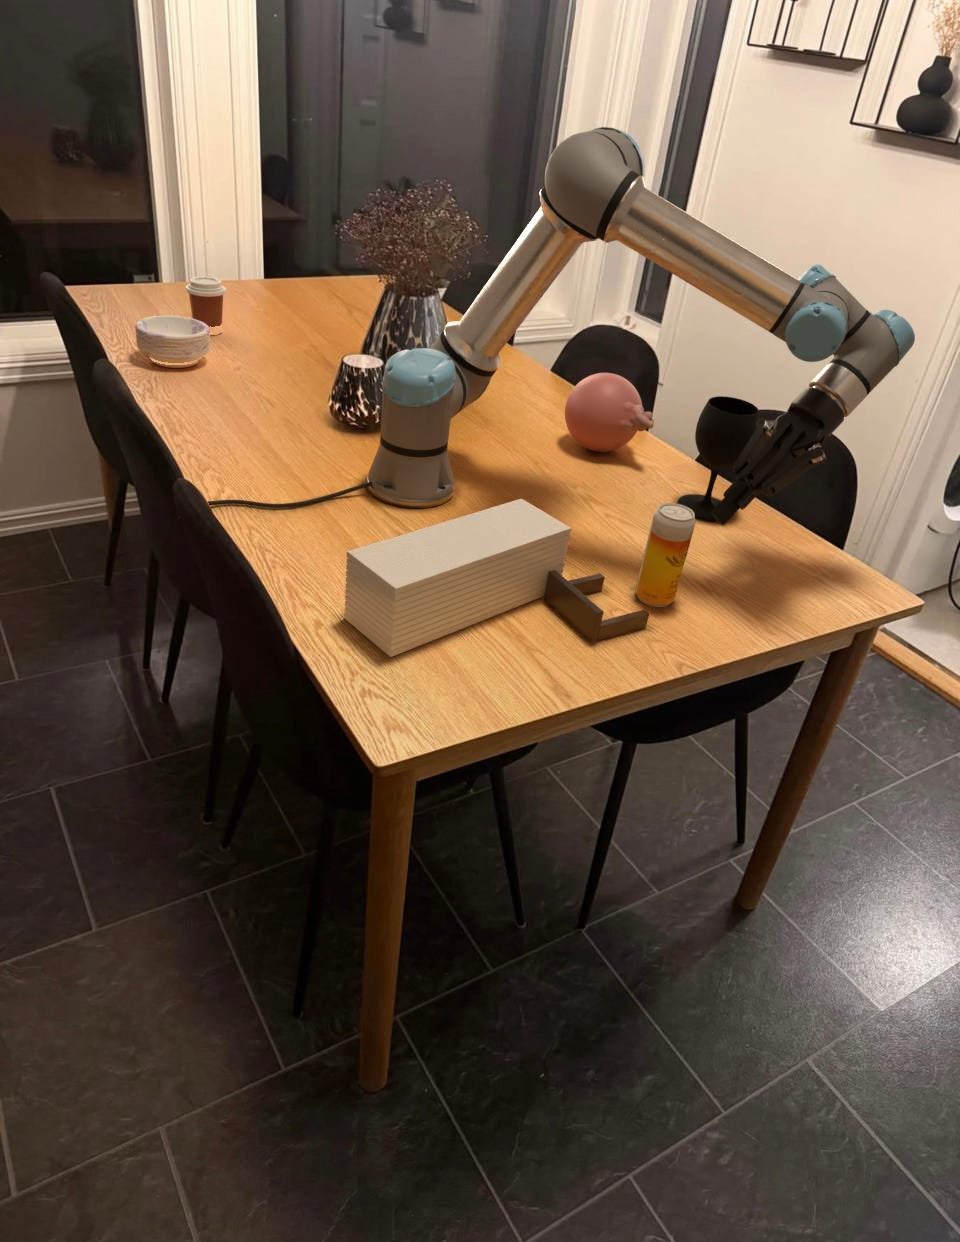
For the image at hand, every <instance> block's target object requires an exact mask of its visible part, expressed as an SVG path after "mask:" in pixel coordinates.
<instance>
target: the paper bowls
mask: <svg viewBox="0 0 960 1242" xmlns="http://www.w3.org/2000/svg"><path fill="white" fill-rule="evenodd" d="M135 338H136V346H137V348H138V350H139V351H140V352H142V353H144V354H146V355H147V357H148V356H149V357H151V358H153V359H155V360H158V361H161V362H168V363H184V362H190V361H194V360H197V359H199V358H200V357H201V358H202V357H203V356H205V355H207V354H208V353H209V352H210V350H211V336H210V329H209V327H208V326H207V325H206V324H205V323H203V322H201V321H199V320H196V319H192V317H187V316H180V315H153V316H152V315H151V316H147V317H144V318H140V319H139V320H138V321H136V323H135ZM149 357H148V359H149V360H150V361H151V362H152V363H153V364H155V365H157V366H160V367H164V368H170V369H183V368H189V367H192V366H193V367H194V366H195V365H197V364H198V363H199V362H200V360H199V361H197V362H195V363H192V364H187V365H165V364H160V363H157V362H154V361H152V360H151V359H150V358H149ZM201 358H200V359H201Z"/></svg>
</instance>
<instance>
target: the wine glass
mask: <svg viewBox="0 0 960 1242" xmlns="http://www.w3.org/2000/svg"><path fill="white" fill-rule="evenodd" d="M759 412H760V411H759V408H758V407H757V406H756V405H755V404H754V403H751V402H750V401H747V400H744V399H742V398H737V397H732V396H722V395H721V396H712V397H710V398H709V399H708V400H707V402H706V404H705V405H704V407H703V409H702V410H701V412H700V414H699V417H698V421H697V422H696V427H695V431H694V432H695V434H694V435H695V436H694V440H695V446H696V449H697V451H698V453H699V455H700V457H701V458H702V460H703V462H705V464H707V466H709V468H710V477H709V481H708V484H707V488H706V491H705V493H704V494H698V493H697V494H696V493H692V494H691V493H690V494H689V493H688V494H685V495H682V496H680V497H679V498H678V499H677V501H676V504H680V505H684V506H686V507H688V508H690V509H691V510H692V511H693V512H694V514H695V516H694V517H695V520H699V521H703V522H710V523H718V522H717V521H716V520H715V518H714V517H713V515H712V514H711V511H712V510H713V509H714V508H715V507H716V506H717V505H718V504H719V503H720V502H721V501H722V499H719V498H716V497H713V496H712V495H713V491H714V487H715V483H716V480H717V477H718V475H719V473H720V471H722V470H724V469H728V468H730V467H733V465H734V464H735V462H736V461H737V459H738V457H739V456H740V454H741V453H742V451H743V449H744V448H745V446H746V445H747V443H748V441H749V440H750V438H751V437H752V435H753V433H754V432H755V430H756V426H757V421H758V420H759V419H760V418H759V417H760V416H759V414H760V413H759Z"/></svg>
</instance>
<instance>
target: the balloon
mask: <svg viewBox="0 0 960 1242" xmlns="http://www.w3.org/2000/svg"><path fill="white" fill-rule="evenodd" d="M564 420H565V424H566V427H567V430H568V432H569V434H570V436H571V437H572V438H573V439H574V441H576V443H578V444H579V445H580V446H581V447H583V448H585V449H588V450H590V451H593V452H598V453H605V452H612V451H616V450H618V449H621V448H622V447H625V445H627V444H628V443H630V442H631V441H632V440H633V438H634V437H635V435H636V434H637V432H645V431H646V430H647V429H653V428H654V423H655V421H654V419H653V412H651V411H645V408H644V407H643V402H642V399H641V396H640V394H639V391H638V390H637V389H636V387H635V386H634V384H633V383H631V382H630V381H629V380H628V379H626V378H625V377H623V376H621V375H619V374H616V373H611V372H598V373H594V374H591V375H588V376H586V377H584V378H583V379H581V380H580V381H579V382H578V383H577V384H576V385H575V386H574V387H573V389H572V390H571V391H570V393H569V395H568V397H567V399H566V403H565V407H564Z"/></svg>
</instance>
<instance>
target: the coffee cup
mask: <svg viewBox="0 0 960 1242" xmlns="http://www.w3.org/2000/svg"><path fill="white" fill-rule="evenodd" d="M185 292H186V293H187V294H188V299H189V302H190V303H189V304H190V311H191V318H192V319H196V320H199V321H201V322H203V323H205V324H206V325H207V326H209V327H210V326H211V327H215V326H220V325H221V324H222V325H223V309H224V295H225V294H226V293H227V287H225V286H224V285H223V284H222V281H221V280H220V279H219V278H217V277H213V276H207V275H206V276H203V275H198V276H193V277H191V278H189V283H188V284H186V286H185Z"/></svg>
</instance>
